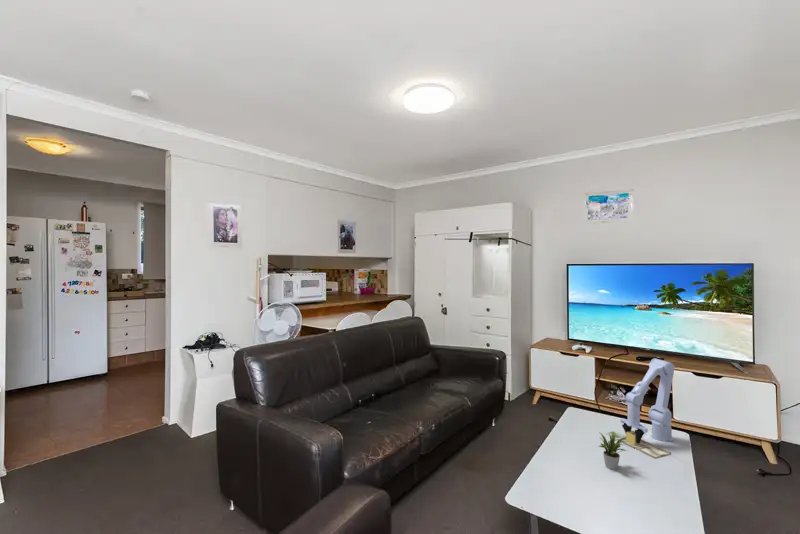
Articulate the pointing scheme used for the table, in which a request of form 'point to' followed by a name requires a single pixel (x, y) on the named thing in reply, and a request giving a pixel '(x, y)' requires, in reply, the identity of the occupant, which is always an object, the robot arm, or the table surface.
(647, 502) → the table surface
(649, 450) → the organizer board
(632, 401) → the robot arm
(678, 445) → the table surface
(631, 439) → the letter cube
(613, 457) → the house plant
